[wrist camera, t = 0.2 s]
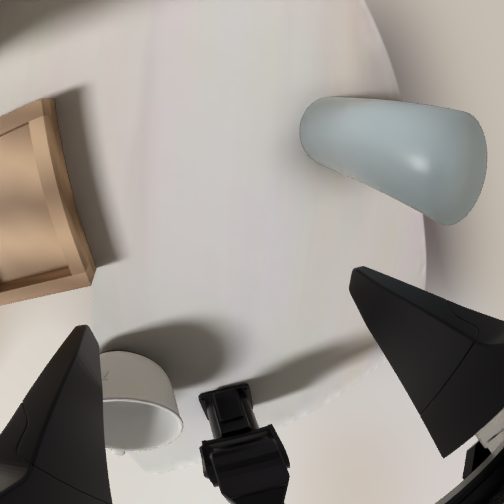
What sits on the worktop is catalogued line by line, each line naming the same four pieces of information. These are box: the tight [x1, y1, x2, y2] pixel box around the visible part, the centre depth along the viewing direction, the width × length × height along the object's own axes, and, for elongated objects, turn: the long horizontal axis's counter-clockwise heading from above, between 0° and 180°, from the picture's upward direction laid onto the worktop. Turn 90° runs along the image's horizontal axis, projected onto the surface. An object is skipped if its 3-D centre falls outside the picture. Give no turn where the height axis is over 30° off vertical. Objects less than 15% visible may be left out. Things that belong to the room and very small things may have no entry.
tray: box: [0, 99, 96, 306], centre depth 16 cm, size 14×12×3 cm
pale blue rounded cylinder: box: [300, 97, 487, 225], centre depth 17 cm, size 6×6×13 cm
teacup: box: [100, 351, 183, 456], centre depth 25 cm, size 14×11×8 cm
